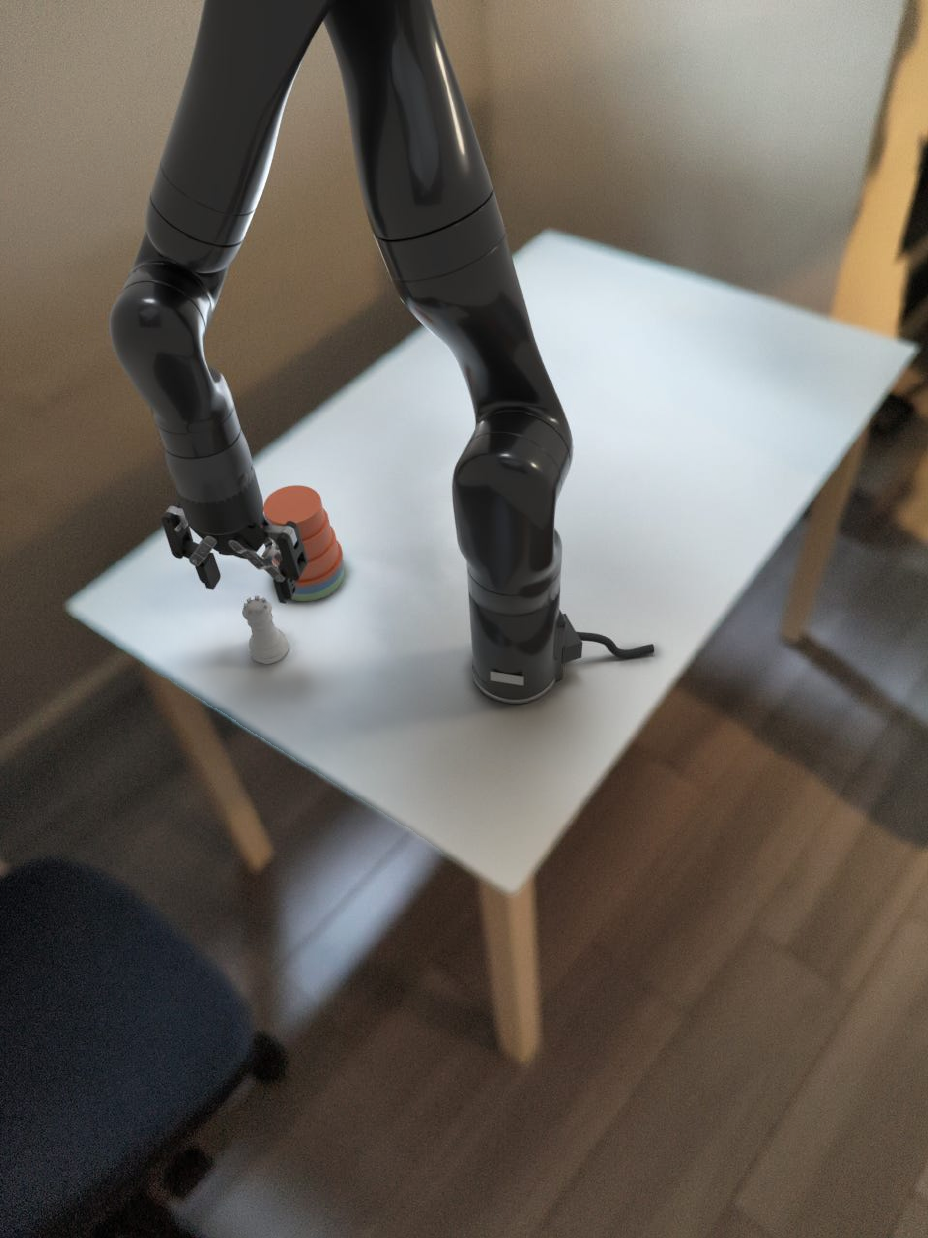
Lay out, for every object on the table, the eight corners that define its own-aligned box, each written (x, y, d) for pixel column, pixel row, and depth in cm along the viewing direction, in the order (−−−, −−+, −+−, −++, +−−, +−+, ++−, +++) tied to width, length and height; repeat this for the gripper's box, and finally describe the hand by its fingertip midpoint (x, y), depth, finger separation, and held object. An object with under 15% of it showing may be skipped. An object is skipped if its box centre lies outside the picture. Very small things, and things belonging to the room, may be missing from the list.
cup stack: (336, 542, 116) (321, 470, 108) (354, 590, 111) (340, 518, 102) (266, 561, 115) (245, 489, 106) (281, 611, 109) (260, 540, 100)
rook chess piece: (261, 672, 103) (245, 626, 97) (244, 647, 106) (227, 601, 100) (296, 654, 105) (282, 607, 99) (279, 630, 107) (264, 583, 101)
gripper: (299, 459, 86) (324, 577, 99) (164, 437, 89) (205, 555, 102) (266, 511, 82) (298, 629, 94) (125, 487, 85) (173, 604, 97)
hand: (250, 590), depth 98 cm, fingers open, 8 cm apart
